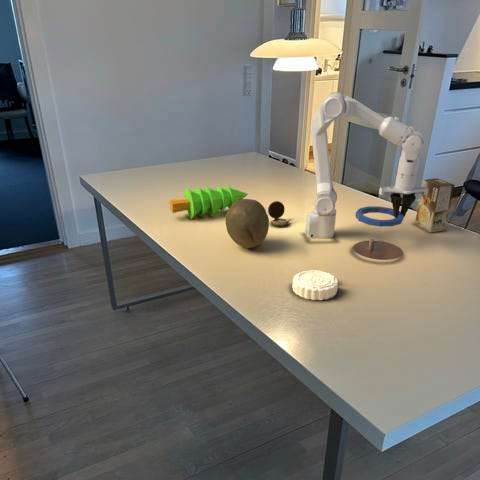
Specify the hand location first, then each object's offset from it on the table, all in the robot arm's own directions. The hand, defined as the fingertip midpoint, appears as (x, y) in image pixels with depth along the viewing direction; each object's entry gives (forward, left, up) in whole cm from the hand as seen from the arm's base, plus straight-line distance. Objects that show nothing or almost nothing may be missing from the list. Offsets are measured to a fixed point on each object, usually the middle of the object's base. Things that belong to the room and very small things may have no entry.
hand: (398, 216), depth 154 cm
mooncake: (-32, -30, -10) cm, 45 cm away
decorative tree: (-59, +31, -10) cm, 67 cm away
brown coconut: (-48, +1, -10) cm, 49 cm away
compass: (-34, +21, -10) cm, 41 cm away
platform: (-7, -7, -9) cm, 14 cm away
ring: (-6, 0, 0) cm, 6 cm away
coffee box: (+18, +15, -10) cm, 25 cm away
